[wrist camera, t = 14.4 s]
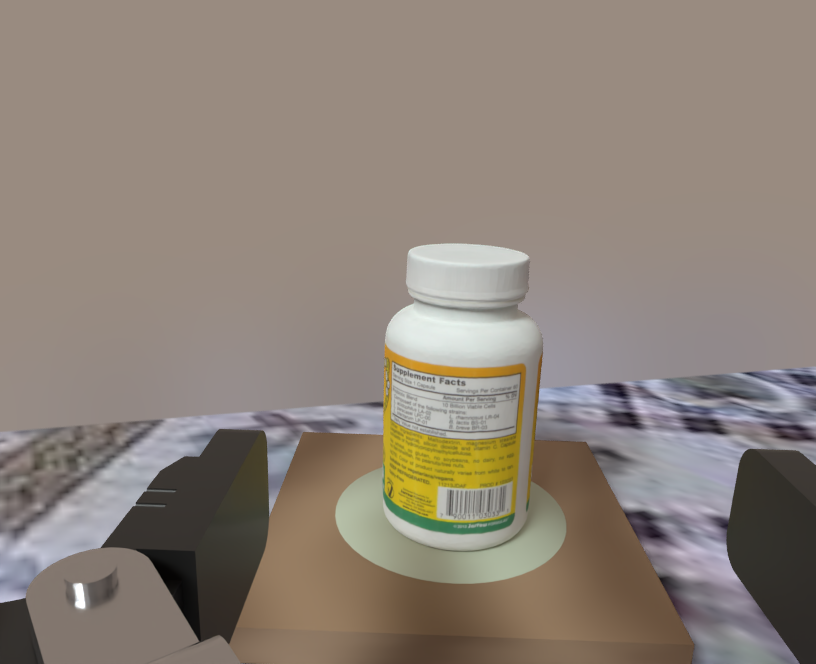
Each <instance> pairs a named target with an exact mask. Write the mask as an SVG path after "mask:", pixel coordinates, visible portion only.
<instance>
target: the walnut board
mask: <svg viewBox="0 0 816 664" xmlns="http://www.w3.org/2000/svg"><path fill="white" fill-rule="evenodd" d="M382 470H383V435H371V434H342V433H314V432H303V434H302V436H301V439H300V441H299V444H298V446H297V449H296V451H295V454H294V457H293V459H292V462H291V464H290V467H289V469H288V472H287V474H286V477H285V479H284V482H283V484H282V487H281V489H280V492H279V494H278V497H277V499H276V502H275V504H274V507H273V509H272V512H271V514H270V517H269V528H268V536H267V542H266V547H265V551H264V554H263V557H262V559H261V562H260V564H259V567H258V570H257V572H256V575H255V578H254V580H253V583H252V586H251V588H250V591H249V593H248V596H247V599H246V601H245V604H244V607H243V609H242V612H241V615H240V617H239V620H238V622H237V625H236V628H235V630H234V633H233V636H232V638H231V641H230V644H229V646H230V647H231V649H232V650H233V652H234V653H235V655H236V656H237V658H238V659H239V661H240V663H249V664H691V662H692V656H693V650H694V643H693V641H692V639H691V638H690V636H689V634H688V632H687V630H686V628H685V626H684V624H683V623H682V621H681V619H680V617H679V615H678V613H677V611H676V609H675V608H674V606H673V604H672V602H671V600H670V598H669V596H668V594H667V593H666V591H665V589H664V587H663V585H662V583H661V581H660V579H659V578H658V576H657V574H656V572H655V570H654V568H653V566H652V564H651V563H650V561H649V559H648V557H647V555H646V553H645V551H644V549H643V548H642V546H641V544H640V542H639V540H638V538H637V536H636V534H635V533H634V531H633V529H632V527H631V525H630V523H629V521H628V519H627V518H626V516H625V514H624V512H623V510H622V508H621V506H620V505H619V503H618V501H617V499H616V497H615V495H614V493H613V491H612V490H611V488H610V486H609V484H608V482H607V480H606V478H605V476H604V475H603V473H602V471H601V469H600V467H599V465H598V463H597V461H596V460H595V458H594V456H593V454H592V452H591V450H590V448H589V446H588V445H587V443H586V442H571V441H542V440H535V441H534V453H533V465H532V477H531V486H530V499H529V507H528V515H527V519H526V522H525V523H524V525H523V527H522V528H521V530H520V531H519V532H518V533H517V534H516V535H514V536H513V537H512V538H511V539H509V540H507V541H505V542H503V543H502V544H499V545H496V546H493V547H490V548H486V549H482V550H474V551H451V550H443V549H437V548H433V547H429V546H426V545H423V544H420V543H417V542H415V541H413V540H411V539H409V538H407V537H406V536H404V535H403V534H401V533H400V532H398V531H397V530H396V529H395V528H394V527H393V526H392V524H391V523H390V522H389V520H388V519H387V517H386V515H385V512H384V508H383V488H382Z"/></svg>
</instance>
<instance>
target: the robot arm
mask: <svg viewBox="0 0 816 664" xmlns="http://www.w3.org/2000/svg"><path fill="white" fill-rule="evenodd" d="M268 528H269V494H268V461H267V440H266V435H265V432H264V431H261V430H233V429H219V430H218V431H217V432H216V433H215V435H214V436H213V438H212V439H211V441H210V442H209V444H208V445H207V446H206V448H205V449H204V451H203V452H202V454H201V455H200V457H188V456H185V457H183V458H181V459H179V460H178V461H176V462H174V463H173V464H171V465H169V466H168V467H166V468H164V469H163V470H161V471H160V472H159V473H158V475H157V476H156V477H155V479H154V480H153V481H152V482H151V484H150V485H149V486H148V488H147V492H144V493H143V494H142V495H141V497H140V498H139V499H138V500H137V502H136V506H133V507H132V508H131V509H130V511H129V512H128V513H127V515H126V516H125V517H124V518H123V520H122V521H121V522H120V524H119V525H118V526H117V527H116V529H115V530H114V531H113V533H112V534H111V535H110V536H109V538H108V539H107V540H106V542H105V543H104V544H103V545H102V547H101V548H98V549H92V550H88V551H84V552H80V553H77V554H74V555H71V556H68V557H66V558H64V559H61V560H59V561H57V562H56V563H54V564H52V565H50V566H49V567H47V568H46V569H45V570H43V571H42V572H41V573H40V574H39V575H37V576H36V577H35V579H34V580H33V581H32V582H31V584H30V585H29V587H28V589H27V593H26V598H24V599H20V600H15V601H10V602H4V603H0V664H241V663H240V661H239V659H238V658H237V656H236V655H235V653H234V652H233V650H232V649H231V647H230V646H229V644H230V641H231V638H232V636H233V633H234V630H235V628H236V625H237V622H238V620H239V617H240V615H241V612H242V609H243V607H244V604H245V601H246V599H247V596H248V593H249V591H250V588H251V586H252V583H253V580H254V578H255V575H256V572H257V570H258V567H259V564H260V562H261V559H262V557H263V554H264V551H265V547H266V542H267V536H268ZM727 552H728V557H729V560H730V563H731V566H732V568H733V570H734V572H735V573H736V575H737V576H738V577H739V579H740V580H741V582H742V583H743V584H744V586H745V587H746V589H747V590H748V591H749V593H750V594H751V596H752V597H753V598H754V600H755V601H756V603H757V604H758V605H759V607H760V608H761V610H762V611H763V612H764V614H765V615H766V617H767V618H768V619H769V621H770V622H771V624H772V625H773V626H774V628H775V629H776V631H777V632H778V633H779V635H780V636H781V638H782V639H783V640H784V642H785V643H786V645H787V646H788V647H789V649H790V650H791V652H792V653H793V654H794V656H795V657H796V659H797V660H798V661H799V663H800V664H816V465H815V464H814V463H812V462H811V461H810V460H809V459H808V458H806V457H805V456H804V455H803V454H802V453H800V452H799V451H796V450H767V449H748V450H747V451H745V452H744V454H743V455H742V457H741V460H740V463H739V468H738V473H737V479H736V484H735V490H734V496H733V501H732V507H731V512H730V518H729V523H728V529H727Z"/></svg>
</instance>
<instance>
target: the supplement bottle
mask: <svg viewBox="0 0 816 664" xmlns="http://www.w3.org/2000/svg"><path fill="white" fill-rule="evenodd" d="M529 263H530V262H529V257H528V256H527V255H526V254H524V253H522V252H519V251H515V250H512V249H507V248H502V247H495V246H486V245H474V244H473V245H472V244H433V245H423V246H419V247H415V248H412V249H410V251H409V252H408V259H407V277H406V285H407V286H408V292H409V294H410V295H411V296H412V297H414V304H412V305H409V306H407V307H405V308H404V309H402V310H400V311H399V312H398V313H397V314H395V316H394V317H393V318H392V320H391V321H390V323H389V325H388V327H387V330H386V338H385V363H384V364H385V365H384V410H383V424H384V429H383V430H384V433H383V470H382V488H383V508H384V512H385V515H386V517H387V519H388V520H389V522H390V523H391V524H392V526H393V527H394V528H395V529H396V530H397V531H398V532H400V533H401V534H403V535H404V536H406V537H407V538H409V539H411V540H413V541H415V542H417V543H420V544H423V545H426V546H429V547H433V548H437V549H443V550H451V551H474V550H482V549H486V548H490V547H493V546H496V545H499V544H502V543H503V542H505V541H507V540H509V539H511V538H512V537H513V536H514V535H516V534H517V533H518V532H519V531H520V530H521V528H522V527H523V525H524V523H525V522H526V519H527V515H528V507H529V499H530V486H531V477H532V465H533V453H534V441H535V430H536V419H537V407H538V398H539V385H540V374H541V365H542V355H543V338H542V334H541V332H540V329H539V327H538V325H537V324H536V323H535V321H534V320H533V319H532V318H531V317H530V316H528V315H527V314H525V313H524V312H522V311H520V310H518V303H520V302H522V301H523V300H524V299H525V295H526V293H527V292H528V289H529V286H528V279H529Z"/></svg>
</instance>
